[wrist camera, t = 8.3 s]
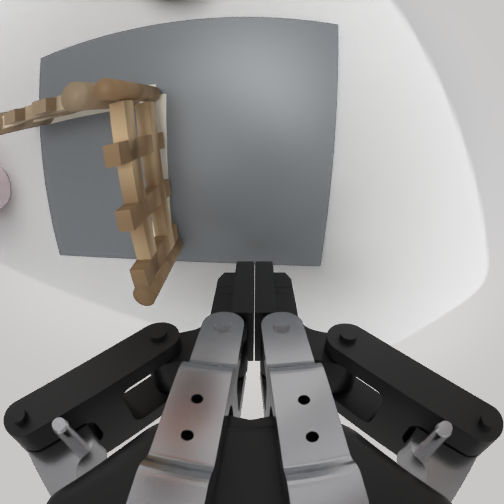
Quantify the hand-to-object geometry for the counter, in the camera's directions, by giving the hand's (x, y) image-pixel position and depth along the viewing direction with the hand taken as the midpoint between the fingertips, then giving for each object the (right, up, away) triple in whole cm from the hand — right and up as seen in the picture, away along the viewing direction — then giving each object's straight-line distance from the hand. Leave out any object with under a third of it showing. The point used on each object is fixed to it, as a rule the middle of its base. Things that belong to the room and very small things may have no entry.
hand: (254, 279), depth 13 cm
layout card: (-6, +8, +4) cm, 11 cm away
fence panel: (-6, +6, +5) cm, 9 cm away
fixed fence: (-11, +11, +3) cm, 16 cm away
